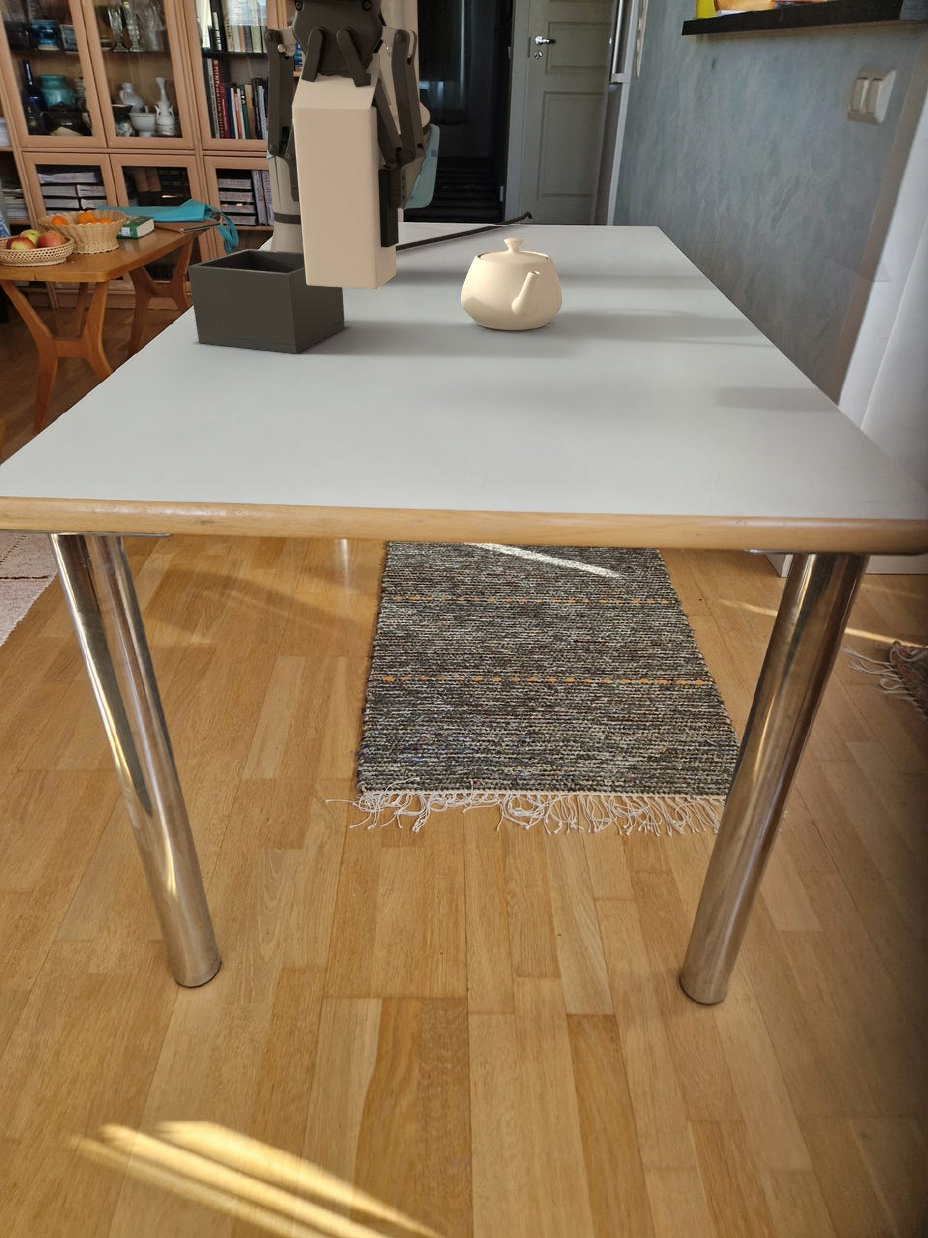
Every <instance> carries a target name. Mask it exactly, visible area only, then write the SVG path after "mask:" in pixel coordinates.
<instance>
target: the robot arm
mask: <svg viewBox="0 0 928 1238" xmlns="http://www.w3.org/2000/svg"><path fill="white" fill-rule="evenodd" d="M293 3H294V15H293V18H292V21H291V25H289V26H286V27H282V28H278V29H277V28H266V29H264V31H263V34H262V39H263V42H264V46H265V50H266V51H265V52H266V55H267V60H268V84H267V85H268V86H267V87H268V89H267V90H268V91H267V130H266V153H267V154H266V160H267V164H268V173H269V183H270V193H271V194H270V195H271V203H272V204H271V205H272V213H273V223H274V227H273V232H272V237H271V243H270V247H269V251H282V252H295V253H304V247H303V234H302V222H301V210H300V198H299V185H298V173H297V161H296V148H295V136H294V124H293V111H292V104H293V101H294V77H295V76H294V74H295V71H294V69H295V68H294V67H295V66H294V65H295V63H294V55H295V54H296V51H297V48H296V44H297V45H298V46H299V48H300V50H301V51H302V52H303V53H304V54H305V56H306V58H305V63H304V67H303V66H302V68H303V71H302V70H301V71H302V75H301V74H300V75H301V79H302V80H305V81H308V82H314V81H315V79H316V78H317V76H318V73H320V74H321V75H323V76H333V75H337V74H338V75H340V76H343V77H352V79H353V82H354V84H355V86H356V87H361V86H369V85H370V86H371V73H367V72H366V70H367V69H368V67H369V65H370V64H371V62H372V60H373V53H379V54H380V68H381V71H382V75H383V78H384V81H385V84H386V88H387V91H388V94H389V97H390V101H391V104H392V113H391V110H390V107H389V104H388V101H387V99H386V96H385V93H384V90H383V87H382V81H381V80H380V78H379V77H378V79H377V83H376V87H375V91H374V95H373V99H372V103H371V106H373V107H375V108H376V113H377V141H378V144H379V147H380V150H381V152H382V155H383V158H384V161H385V165H383V167H384V169H380V170H378V183H379V211H380V238H381V247H387V248H388V247H391V246H393V245H395V244H396V252H399V251H404V250H408V249H413V248H417V247H420V246H426V245H432V244H435V243H440V242H445V241H449V240H454V239H459V238H463V237H469V236H473V235H477V234H481V233H486V232H489V231H493V230H496V229H500V228H503V227H504V226H490V225H486V226H482V227H477V228H473V229H469V230H465V231H464V230H463V231H459V232H455V233H449V234H443V235H440V236H439V235H438V236H435V237H430V238H426V239H425V238H424V239H420V240H416V241H411V242H407V243H406V242H405V243H402V244H399V243H400V237H399V235H400V234H399V233H400V232H399V209H401V210H407V209H418V208H425V207H427V206H428V205H430V203H431V202H432V200H433V196H434V190H435V183H436V175H437V167H438V165H437V164H438V153H439V145H440V127H439V126H438V125H435V124H434V123H431V114H430V111H429V110H428V108H427V107H426V106H424V104H423V103H422V102H421V100H420V69H419V68H420V65H419V63H420V62H419V60H420V59H419V27H418V25H419V24H418V0H293ZM532 215H533V214H532V213H531V212H530V211H525V212H524V213H523V214H521V215H520V216H518V217H514V218H511V219H508V220H505V221H500V222H498V223H493V224H492V225H507V226H510V225H512V224H516V223H518V222H521V221H524V220H525V219H526V218H528V220H533V218H534V217H533V216H532Z"/></svg>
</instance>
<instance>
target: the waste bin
mask: <svg viewBox="0 0 928 1238" xmlns="http://www.w3.org/2000/svg"><path fill="white" fill-rule="evenodd" d="M187 271H188V277H189V278H188V279H189V284H190V286H189V287H190V290H191V291H190V292H191V299H192V305H193V312H194V318H195V325H196V333H197V339H198V343H199V344H205V345H214V346H222V347H231V348H241V349H248V350H249V349H250V350H257V351H259V350H261V351H268V352H277V353H286V354H295V355H296V354H299V353H301V352H303V351H304V350H306V349H308V348H310V347H312V346H314V345H315V344H318V343H320V342H321V341H323V340H325V339H327V338H329V337H331V336H332V335H334V334H336V333H338V332H341V331H342V330H344V329H346V325H345V324H346V322H345V308H344V305H345V304H344V291H343V290H344V289H343V288H344V287H329V286H313V285H307V283H306V271H305V259H304V253H295V252H282V251H270V249H269V250H266V249H254V248H246V249H242V250H238V251H235V252H232V253H228V254H224V255H222V256H218V257H214V258H211V259H208V260H205V261H202V262H198V263H194V264H191V265H188V266H187Z"/></svg>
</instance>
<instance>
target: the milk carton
mask: <svg viewBox="0 0 928 1238" xmlns="http://www.w3.org/2000/svg"><path fill="white" fill-rule="evenodd" d="M305 58H306V56H305V54H304V53H303V51H302V52H301V61H302V68H301V72H300V76H299V79H298V82H297V85H296V90H295V94H294V96H293V104H292V119H293V124H294V136H295V148H296V161H297V173H298V185H299V198H300V210H301V222H302V234H303V247H304V259H305V271H306V283H307V285H313V286H329V287H342V288H347V289H362V290H363V289H364V290H378V289H379V288H380V287H382V286H383V285H384V284H386V283H387V282H388V281H390V280H391V279H392V278H393V277H395V276H396V275H397V251H396V246H397V244H395V245H393V246H391V247H388V248H387V247H381V238H380V211H379V183H378V170H380V169H384V167H383V165H385V161H384V158H383V155H382V152H381V150H380V147H379V144H378V141H377V113H376V108H375V107H373V106H371V103H372V99H373V95H374V91H375V87H376V83H377V79H378V77H379V78H380V80H381V81H382V87H383V90H384V93H385V96H386V99H387V101H388V104H389V107H390V110H391V113H392V104H391V101H390V97H389V94H388V91H387V88H386V84H385V81H384V78H383V75H382V71H381V68H380V54H379V53H373V60H372V62H371V64H370V65H369V67H368V69H367V70H366V72H367V73H371V86H370V85H369V86H361V87H356V86H355V84H354V82H353V79H352V77H343V76H340V75H338V74H337V75H333V76H323V75H321V74H320V73H318V76H317V78H316V79H315V81H314V82H308V81H305V80H302V79H301V75H302V71H303V67H304V63H305Z"/></svg>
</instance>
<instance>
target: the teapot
mask: <svg viewBox="0 0 928 1238" xmlns="http://www.w3.org/2000/svg"><path fill="white" fill-rule="evenodd" d="M504 243H505V244H506V246H507V248H508V250H507V249H506V250H504V249H503V250H490V251H483V252H480V253H478V254H476V255H475V256H474V259H473V260H472V263H471V265H470V266H469V269H468V270H467V271H468V272H467V274H466V276H465V279H464V282H463V285H462V288H461V289H462V290H461V294H460V296H461V297H460V302H461V306H462V308H463V310H464V312H465V313H466V314H467V315H468V316H469V317H470V319H472V320H473V322H474V323H475V324H477V325H479V326H481V327H485V328H489V329H494V330H495V329H496V330H502V331H503V330H506V331H522V330H523V331H524V330H532V329H537V328H541V327H544V326H545V325H547V324H548V323H549V322H550V321H551V320H552V319H553V318H555V316H556V315H557V314H558V313H559V312H560V311H561V308H562V305H563V292H562V286H561V282H560V279H559V276H558V272H557V270H556V267H555V264H554V262H553V258H552V257H551V256H549V255H548V254H545V253H541V252H536V251H530V250H519V247H520V246H522V244H523V243H524V239H523V238H520V237H507V238H505V239H504Z"/></svg>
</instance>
